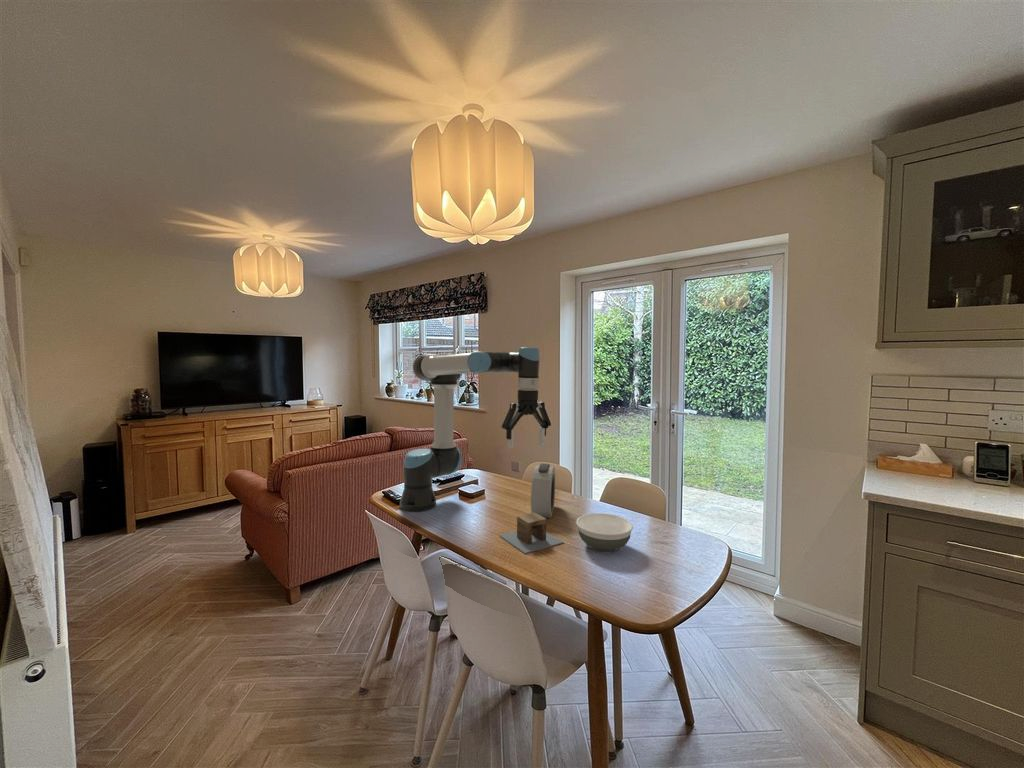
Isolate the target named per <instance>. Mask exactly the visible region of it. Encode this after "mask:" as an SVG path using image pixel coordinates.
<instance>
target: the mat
mask: <svg viewBox="0 0 1024 768" xmlns="http://www.w3.org/2000/svg"><path fill="white" fill-rule="evenodd" d="M499 537H500V538H502V539H503V540H504V541H505V542H507V543H508V544H510V545H512V546H513V547H514V548H515V549H516V550H518V551H519V552H521V553H523V554H524V555H526V554H531V553H534V552H537V551H541V550H544V549H548V548H552V547H555V546H559V545H562V544H564V541H563V540H561V539H560V538H558V537H556V536H554V535H552V534H550V533H549V532H547V531H546V540H544V541H542V540H540V539H539V538H537V537H535V536H534V535H532V544H529V545H528V544H526V543H525V542H523V541H522V540H520V539H519V538H517V530H516V531H512V532H508V533H503V534H501V535H499Z"/></svg>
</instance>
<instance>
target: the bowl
mask: <svg viewBox="0 0 1024 768" xmlns="http://www.w3.org/2000/svg"><path fill="white" fill-rule="evenodd" d="M575 523H576V525H577V529H578V535H579V537H580V539H581V540H582V542H584V543H585V544H586V545H587V546H589V547H591V548H592V550H595V551H596V552H599V553H613V552H616V550H619V549H622V548H623V547H624V546H626V545H627V544H628V542H629V540H630V539H631V534H632V531H633V529H634V526H633V523H632V522H631V521H630V520H628V519H627V518H624V517H622V516H620V515H616V514H611V513H602V512H601V513H598V512H597V513H595V512H594V513H586V514H584V515H581V516H579V517H578V518H577V519H576V521H575Z"/></svg>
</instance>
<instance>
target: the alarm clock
mask: <svg viewBox="0 0 1024 768" xmlns="http://www.w3.org/2000/svg"><path fill="white" fill-rule="evenodd" d="M530 492H531V493H530V511H531V513H537V514H538V515H540V516H542V517H544V518H546V519H551V518H552V516H553V512H554V508H555V503H556V502H555V501H556V469H555V466H550V464H549V463H540V464H539V465H535V467H534V469H533V474H532V479H531V491H530Z"/></svg>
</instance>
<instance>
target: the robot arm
mask: <svg viewBox="0 0 1024 768" xmlns="http://www.w3.org/2000/svg"><path fill="white" fill-rule="evenodd" d="M540 359H541V358H540V349H539V348H538V347H533V346H532V347H530V346H529V347H527V346H524V347H523V346H522V347H519V349H518V352H514V351H513V352H512V351H484V350H475V351H472V352H468V353H457V354H449V353H423V354H420V355H419V356H417V357H416V358H415V359H414V361H413V363H412V371H413V373H414V375H415V377H417V378H418V379H419V380H422V381H425V382H427V381H428V382H430V386H432V387H433V391H434V393H433V396H434V397H433V442H432V443H431V444H430V448H417V449H413V450H410V451H408V452H406V454H405V456H404V458H403V486H404V487H403V491H402V494H401V496H400V500H399V507H400V509H401V510H404V511H407V512H423V511H428V510H431V509H433V508H435V507H436V506H437V498H436V494H435V492H434V489H433V479H436V478H439V477H443V476H448V475H449V476H450V475H452V474H454V473H456V472H458V470H460V468H461V466H462V463H463V455H462V453H461V450H460V449H459V448H458V444H456V442H455V441H454V417H455V416H454V410H455V409H454V401H455V400H454V396H455V394H454V391H455V389H454V388H455V387H457V386H458V380H460V379H461V378H462V375H463V374H465V375H466V374H481V373H482V374H483V373H518V374H517V375H518V377H517V388H518V390H517V403H514V402H510V403H509V410H508V411H507V413H506V416H505V418H504V420H503V423H502V425H501V429H504V430H506V432H505V433H506V434H505V435H506V439H507V448H508V449H510V450H513V449H514V440H515V438H514V437H515V431H514V430H513V429H514V428H515V426H516V425H518V424H517V423H518V422H519V420H521V418H522V417H523V416H528V415H532V416H533V417H534V419H535V420H536V421H537V422H538V424H539V426H540V427H538V445H540V446H545V437H546V436H547V429H548V428H549V427H551V426H552V423H551V420H550V418H549V414H548V412H547V409H546V406H545V402H544V401H538V400H539V391H538V389H539V379H540V378H539V371H540V370H539V369H540ZM537 408H538V409H537ZM538 410H539V411H538Z"/></svg>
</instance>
